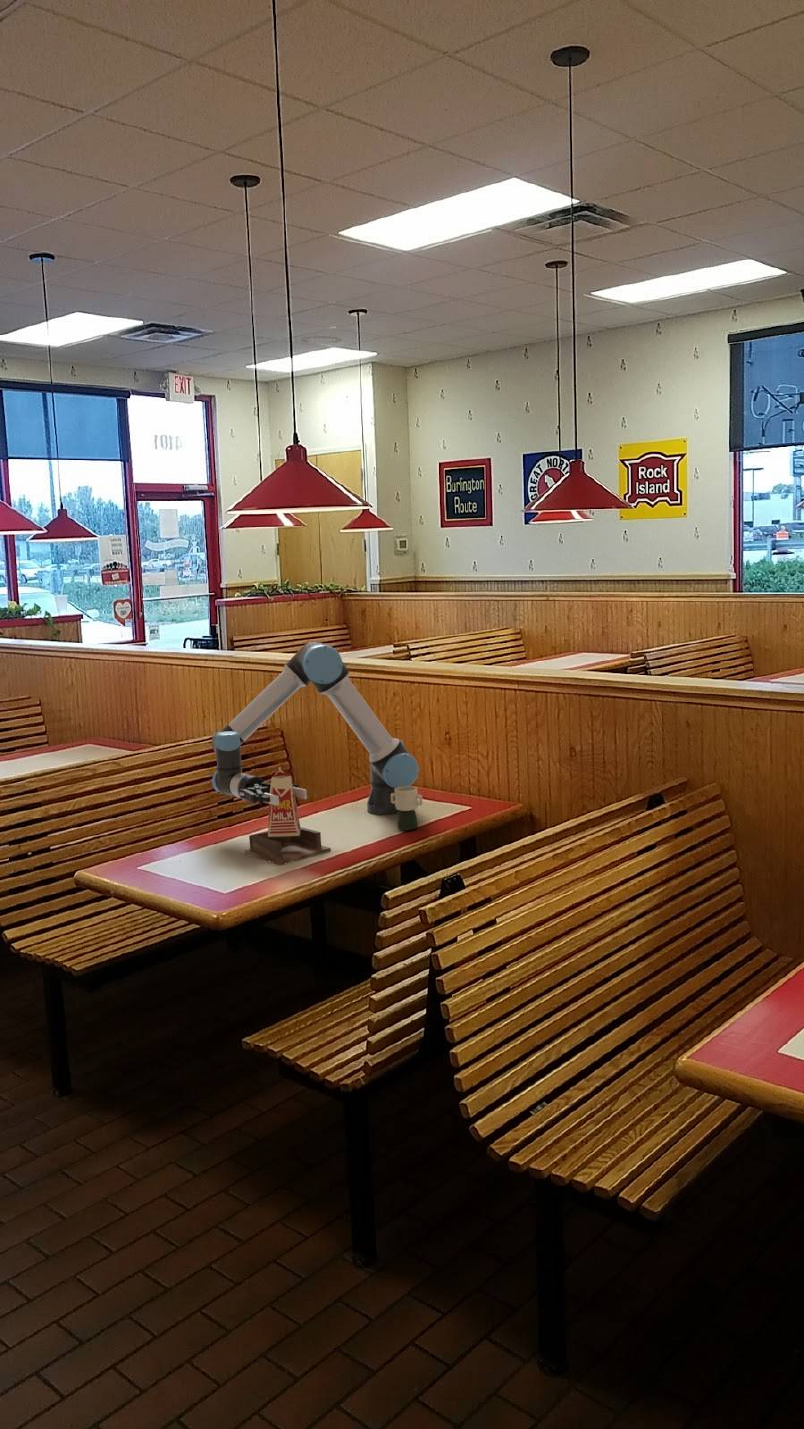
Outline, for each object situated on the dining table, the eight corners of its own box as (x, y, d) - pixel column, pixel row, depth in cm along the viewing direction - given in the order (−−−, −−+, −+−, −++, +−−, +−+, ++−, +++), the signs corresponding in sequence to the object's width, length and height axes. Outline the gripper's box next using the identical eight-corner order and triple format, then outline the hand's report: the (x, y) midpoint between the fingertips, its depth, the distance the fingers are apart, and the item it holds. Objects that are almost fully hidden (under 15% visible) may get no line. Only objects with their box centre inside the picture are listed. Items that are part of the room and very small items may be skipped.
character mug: (428, 827, 342) (426, 786, 340) (418, 833, 336) (416, 792, 334) (397, 825, 347) (395, 784, 345) (387, 831, 341) (384, 790, 339)
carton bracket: (294, 840, 335) (293, 823, 335) (330, 851, 322) (329, 832, 321) (244, 854, 324) (243, 835, 323) (280, 865, 310) (278, 846, 309)
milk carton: (299, 835, 317) (295, 767, 314) (267, 837, 317) (263, 769, 314) (300, 827, 326) (296, 761, 323) (269, 829, 326) (265, 762, 323)
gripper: (278, 792, 341) (322, 803, 324) (218, 805, 327) (261, 817, 310) (277, 768, 340) (321, 778, 323) (216, 781, 326) (259, 791, 309)
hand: (291, 797), depth 317 cm, fingers closed on milk carton, 9 cm apart
